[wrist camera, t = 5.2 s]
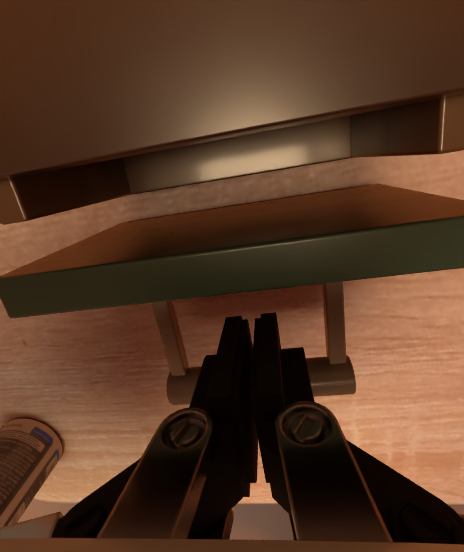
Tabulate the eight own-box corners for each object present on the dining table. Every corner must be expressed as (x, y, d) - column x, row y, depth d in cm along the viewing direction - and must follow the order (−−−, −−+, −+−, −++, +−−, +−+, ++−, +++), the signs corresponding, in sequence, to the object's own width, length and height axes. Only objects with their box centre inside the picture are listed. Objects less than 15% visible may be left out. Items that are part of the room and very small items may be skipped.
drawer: (379, 320, 16) (480, 455, 9) (153, 341, 18) (77, 468, 10) (381, -228, 9) (786, -1548, 2) (24, -109, 11) (-419, -612, 4)
